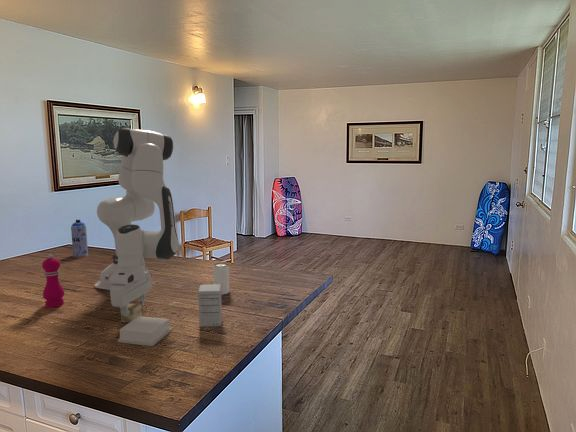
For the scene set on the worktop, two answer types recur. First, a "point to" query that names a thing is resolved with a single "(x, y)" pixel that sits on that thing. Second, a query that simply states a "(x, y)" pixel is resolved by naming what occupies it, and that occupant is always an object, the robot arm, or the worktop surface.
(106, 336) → the worktop surface
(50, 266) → the pepper mill
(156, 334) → the pedestal
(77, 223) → the aerosol can
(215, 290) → the supplement box
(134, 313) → the maple block
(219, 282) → the can
